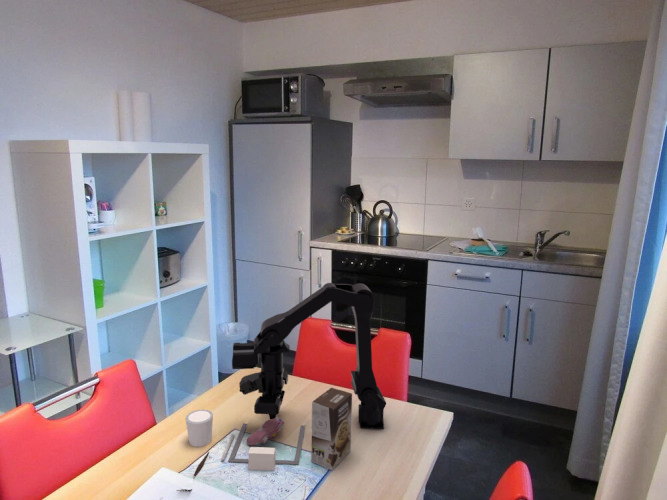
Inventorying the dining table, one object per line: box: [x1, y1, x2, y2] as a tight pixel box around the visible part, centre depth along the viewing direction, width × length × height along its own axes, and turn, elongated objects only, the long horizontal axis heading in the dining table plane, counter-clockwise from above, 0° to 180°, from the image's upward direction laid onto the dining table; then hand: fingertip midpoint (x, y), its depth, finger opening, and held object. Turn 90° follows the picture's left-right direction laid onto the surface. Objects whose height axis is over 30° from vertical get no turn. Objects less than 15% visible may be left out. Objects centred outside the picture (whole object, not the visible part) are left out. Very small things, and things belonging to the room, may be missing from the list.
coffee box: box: [310, 387, 353, 471], centre depth 117 cm, size 9×6×16 cm
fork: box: [176, 451, 210, 493], centre depth 111 cm, size 3×16×2 cm, turn 173°
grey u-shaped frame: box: [220, 422, 306, 471], centre depth 122 cm, size 19×19×4 cm
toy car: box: [246, 416, 286, 446], centre depth 124 cm, size 10×5×7 cm, turn 145°
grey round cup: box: [185, 409, 214, 448], centre depth 123 cm, size 7×7×7 cm
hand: (272, 420), depth 129 cm, fingers closed
